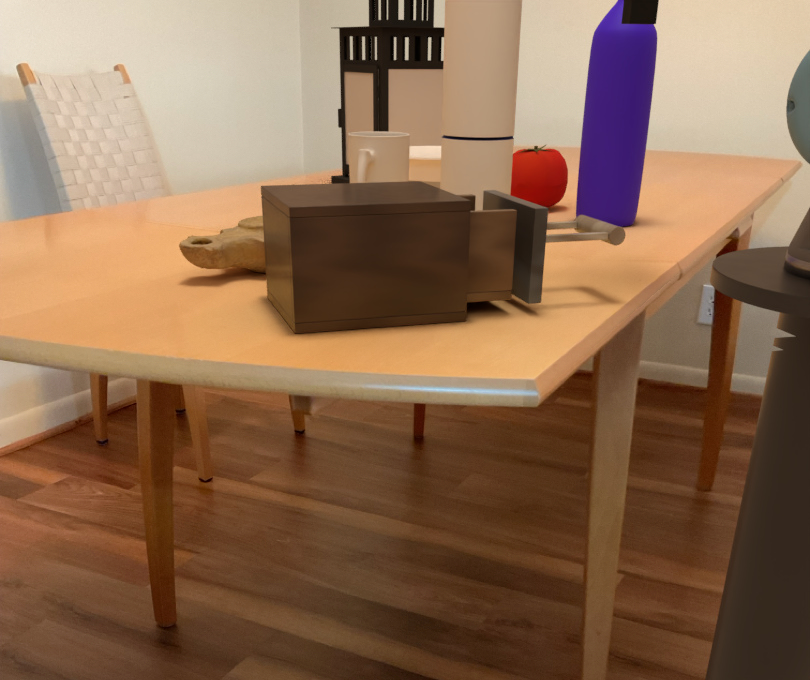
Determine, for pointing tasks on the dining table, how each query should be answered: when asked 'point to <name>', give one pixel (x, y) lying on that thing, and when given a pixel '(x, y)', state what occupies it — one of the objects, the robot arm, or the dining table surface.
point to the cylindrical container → (479, 95)
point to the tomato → (539, 176)
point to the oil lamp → (229, 247)
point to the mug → (379, 157)
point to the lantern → (391, 77)
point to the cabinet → (365, 254)
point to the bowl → (425, 164)
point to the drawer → (519, 246)
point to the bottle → (616, 119)
